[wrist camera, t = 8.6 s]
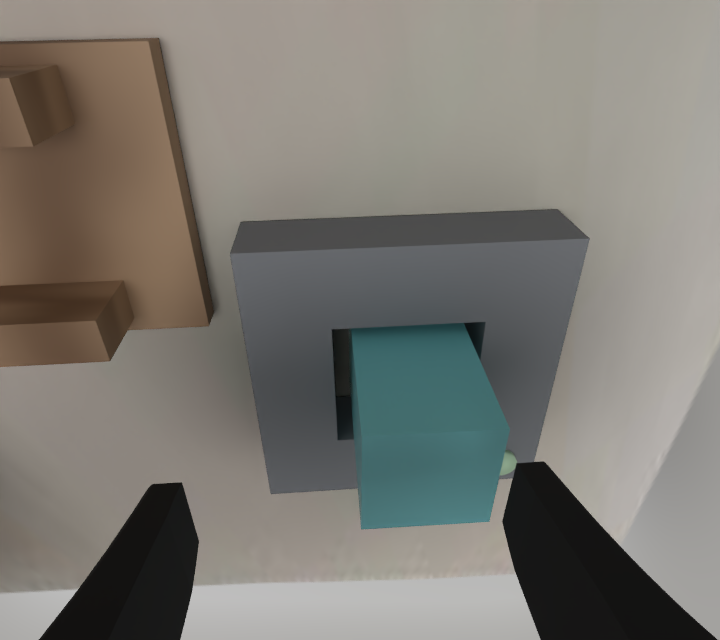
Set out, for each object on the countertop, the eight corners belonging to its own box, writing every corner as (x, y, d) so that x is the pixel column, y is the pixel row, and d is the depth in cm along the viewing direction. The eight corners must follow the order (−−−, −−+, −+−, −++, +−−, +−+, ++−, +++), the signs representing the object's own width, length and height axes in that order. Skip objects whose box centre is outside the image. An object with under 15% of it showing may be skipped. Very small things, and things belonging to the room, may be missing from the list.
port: (275, 448, 23) (270, 500, 21) (240, 222, 17) (228, 257, 15) (511, 434, 24) (532, 482, 21) (557, 209, 18) (594, 242, 15)
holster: (-34, 323, 19) (-100, 385, 16) (-180, 45, 14) (-316, 60, 11) (213, 311, 19) (194, 369, 16) (158, 38, 14) (116, 50, 11)
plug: (349, 382, 21) (361, 529, 16) (348, 300, 19) (361, 436, 13) (442, 377, 22) (488, 521, 16) (452, 297, 19) (509, 428, 14)
